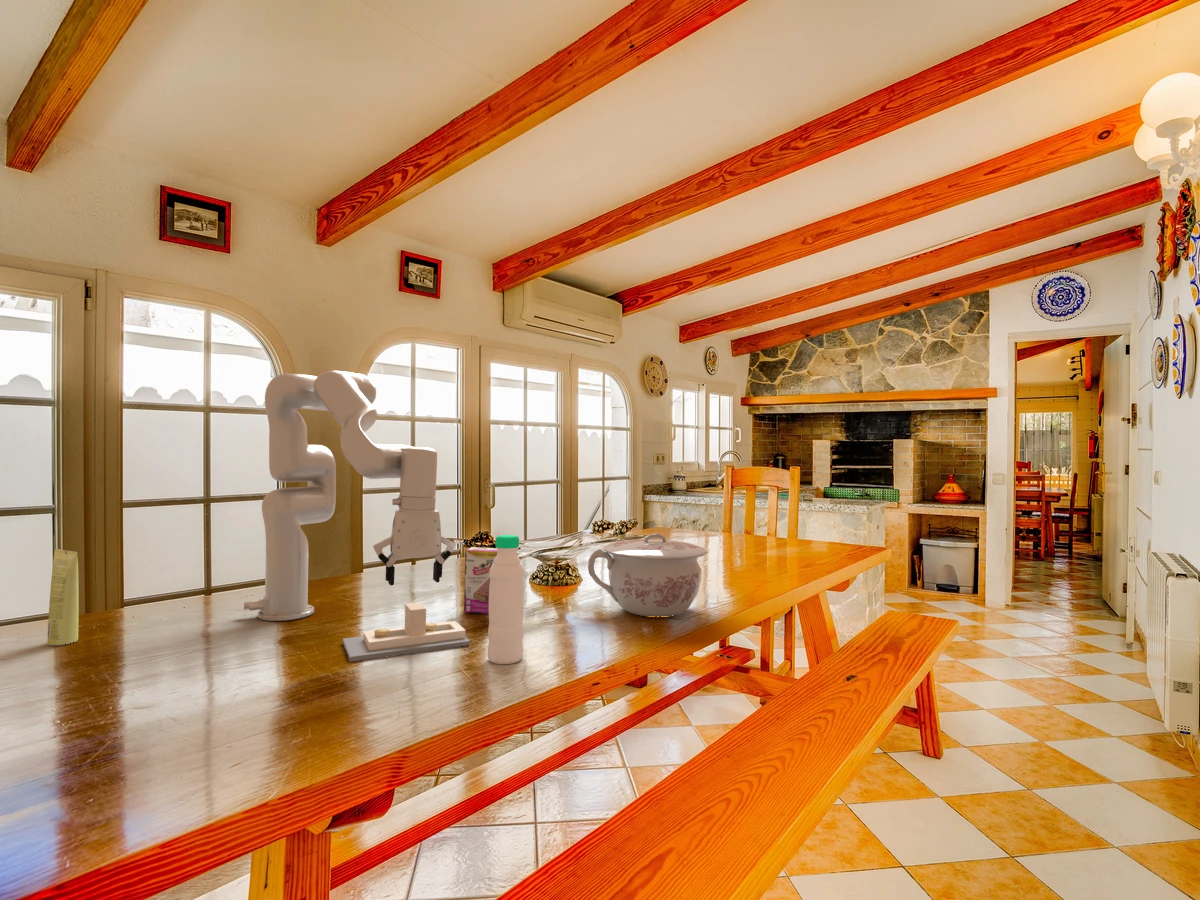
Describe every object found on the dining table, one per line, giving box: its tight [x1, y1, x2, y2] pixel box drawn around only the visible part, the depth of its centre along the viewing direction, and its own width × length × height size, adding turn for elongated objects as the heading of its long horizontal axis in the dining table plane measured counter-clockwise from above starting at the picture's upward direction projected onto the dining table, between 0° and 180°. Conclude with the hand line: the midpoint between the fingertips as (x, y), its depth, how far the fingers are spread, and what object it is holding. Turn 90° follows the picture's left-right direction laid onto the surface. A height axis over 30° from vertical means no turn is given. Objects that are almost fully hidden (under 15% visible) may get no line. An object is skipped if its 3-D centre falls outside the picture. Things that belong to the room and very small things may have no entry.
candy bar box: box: [463, 546, 498, 615], centre depth 161 cm, size 11×5×16 cm, turn 84°
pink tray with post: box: [362, 601, 467, 650], centre depth 135 cm, size 20×8×7 cm, turn 118°
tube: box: [47, 548, 80, 646], centre depth 131 cm, size 6×5×20 cm
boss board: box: [342, 622, 470, 663], centre depth 134 cm, size 24×13×4 cm, turn 118°
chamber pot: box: [587, 533, 708, 617], centre depth 165 cm, size 28×28×21 cm
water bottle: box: [487, 534, 525, 665], centre depth 126 cm, size 7×7×25 cm
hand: (413, 582), depth 135 cm, fingers open, 9 cm apart
